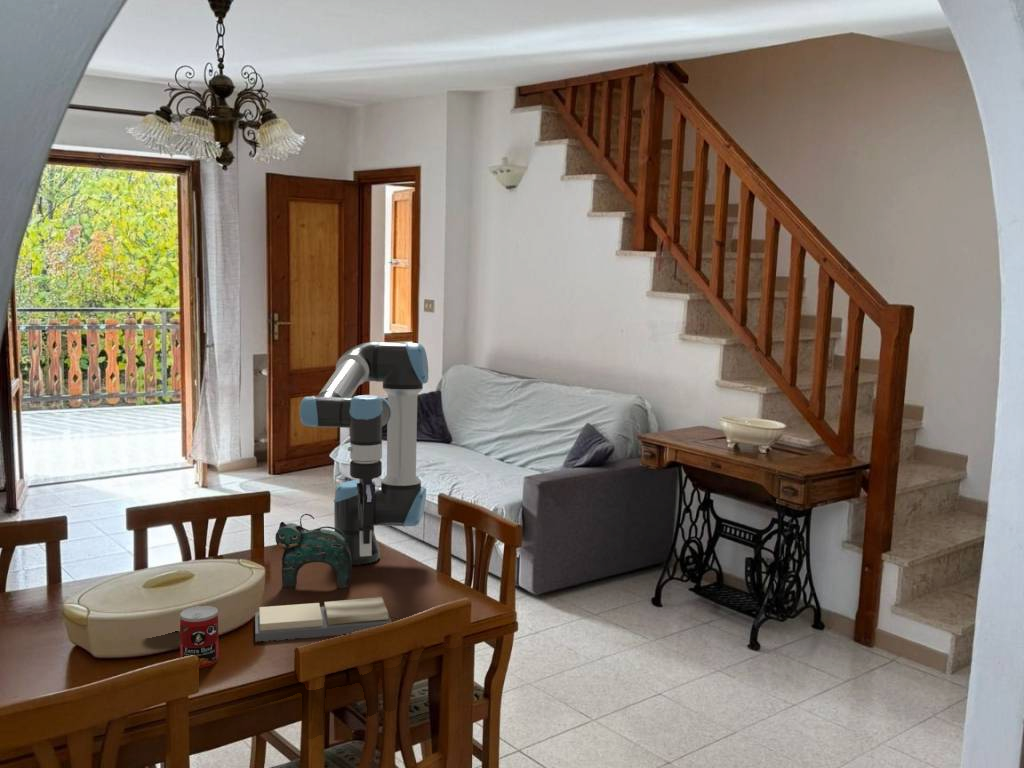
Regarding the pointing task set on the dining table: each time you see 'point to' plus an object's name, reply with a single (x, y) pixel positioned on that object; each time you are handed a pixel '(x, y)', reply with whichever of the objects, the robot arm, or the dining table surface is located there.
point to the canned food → (199, 634)
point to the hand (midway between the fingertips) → (365, 555)
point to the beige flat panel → (355, 610)
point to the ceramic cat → (313, 551)
